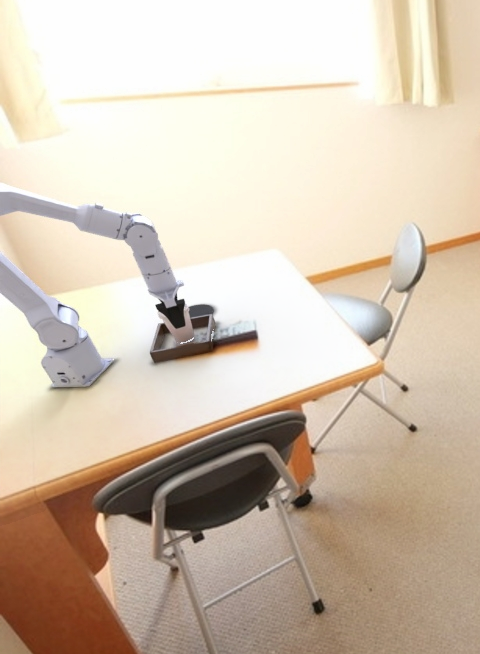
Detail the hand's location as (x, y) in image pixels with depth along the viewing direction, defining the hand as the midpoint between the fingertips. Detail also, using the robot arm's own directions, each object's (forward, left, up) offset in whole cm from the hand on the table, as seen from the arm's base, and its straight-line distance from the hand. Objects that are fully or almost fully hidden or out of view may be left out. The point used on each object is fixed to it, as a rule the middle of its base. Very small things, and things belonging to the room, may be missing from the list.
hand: (177, 319), depth 117 cm
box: (0, 0, -7) cm, 7 cm away
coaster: (+13, +4, -7) cm, 15 cm away
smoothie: (0, 0, -7) cm, 7 cm away
